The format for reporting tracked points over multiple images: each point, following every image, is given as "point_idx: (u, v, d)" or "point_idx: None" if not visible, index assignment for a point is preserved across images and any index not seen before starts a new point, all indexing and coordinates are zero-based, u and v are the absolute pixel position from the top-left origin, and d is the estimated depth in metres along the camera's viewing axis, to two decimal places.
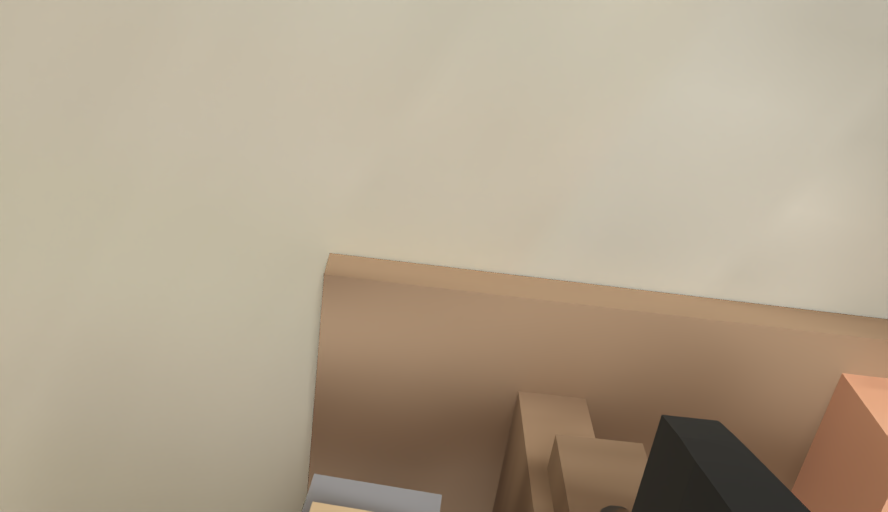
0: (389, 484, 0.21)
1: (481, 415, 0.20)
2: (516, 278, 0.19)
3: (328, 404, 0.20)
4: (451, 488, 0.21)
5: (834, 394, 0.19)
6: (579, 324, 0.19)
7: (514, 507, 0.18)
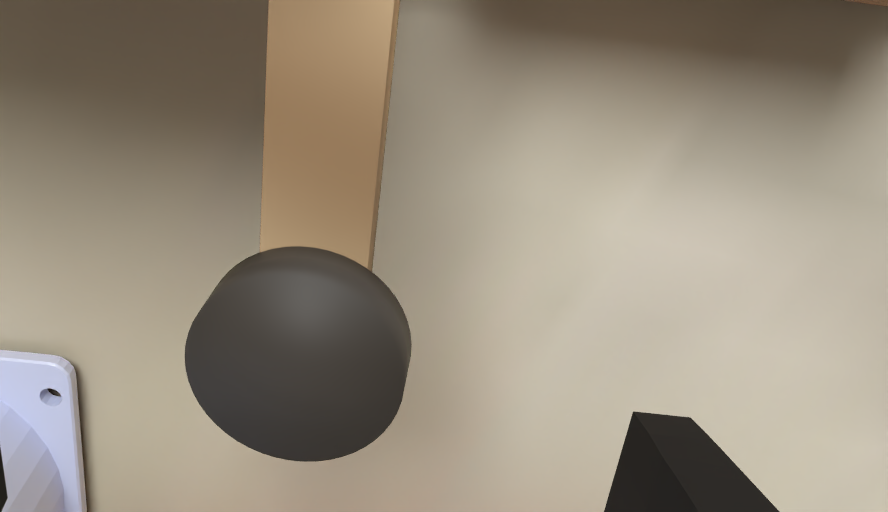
0: None
1: None
2: None
3: None
4: None
5: None
6: None
7: None
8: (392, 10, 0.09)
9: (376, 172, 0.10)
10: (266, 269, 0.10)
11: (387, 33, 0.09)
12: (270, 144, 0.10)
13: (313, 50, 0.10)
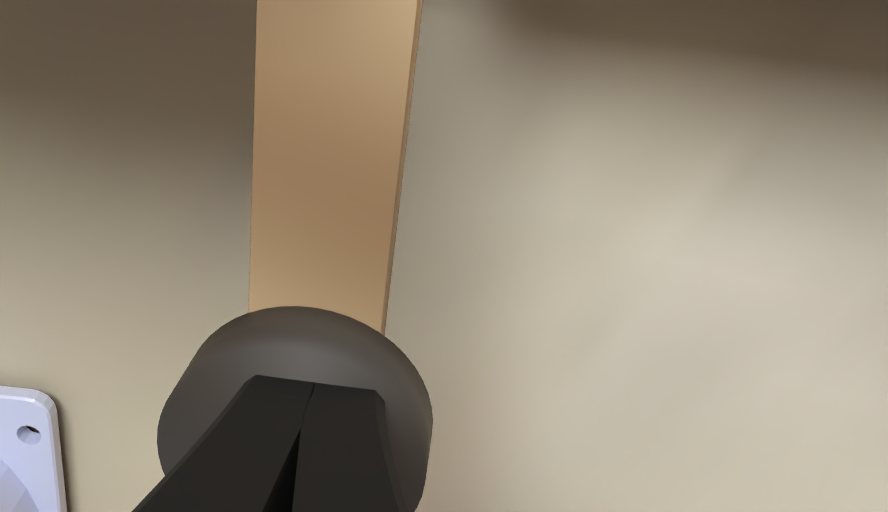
0: None
1: None
2: None
3: None
4: None
5: None
6: None
7: None
8: (413, 20, 0.07)
9: (392, 219, 0.08)
10: (256, 339, 0.08)
11: (406, 48, 0.07)
12: (260, 185, 0.08)
13: (313, 70, 0.08)
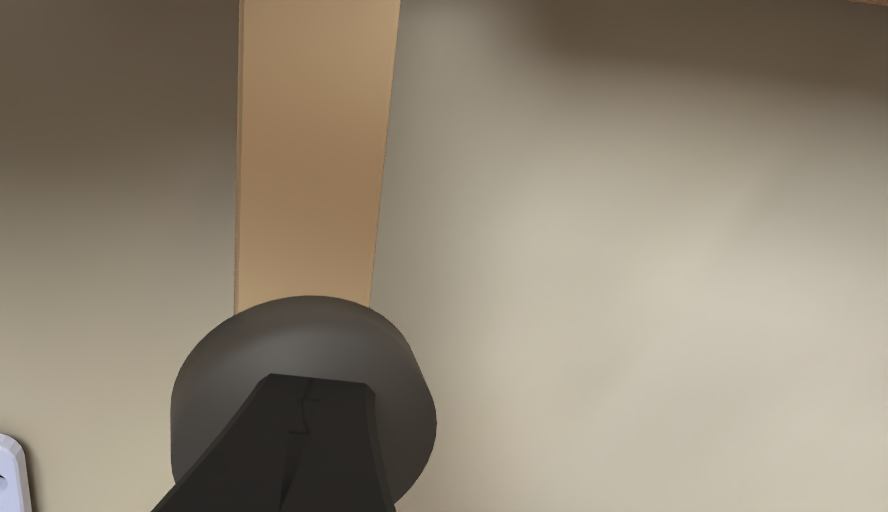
0: None
1: None
2: None
3: None
4: None
5: None
6: None
7: None
8: (398, 7, 0.08)
9: (379, 198, 0.09)
10: (268, 335, 0.08)
11: (392, 35, 0.08)
12: (250, 183, 0.08)
13: (303, 63, 0.08)
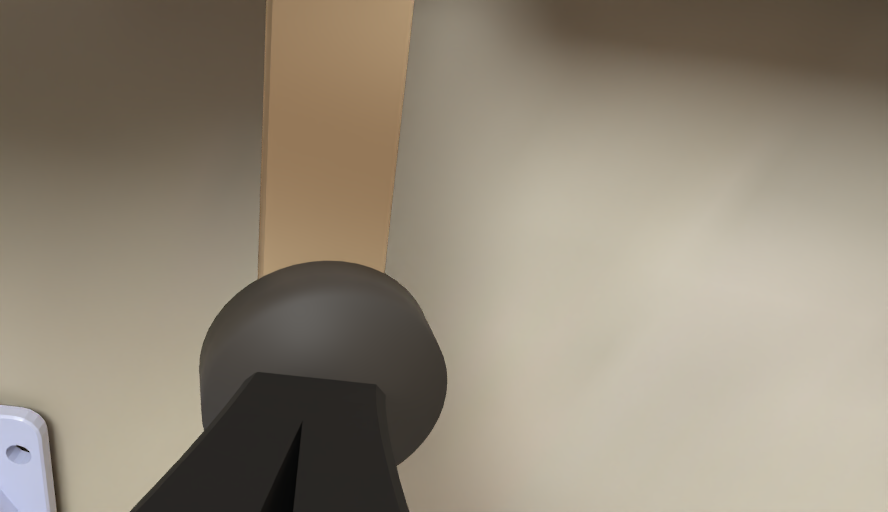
0: None
1: None
2: None
3: None
4: None
5: None
6: None
7: None
8: None
9: (394, 169, 0.09)
10: (292, 295, 0.09)
11: (408, 16, 0.08)
12: (276, 153, 0.09)
13: (326, 42, 0.08)
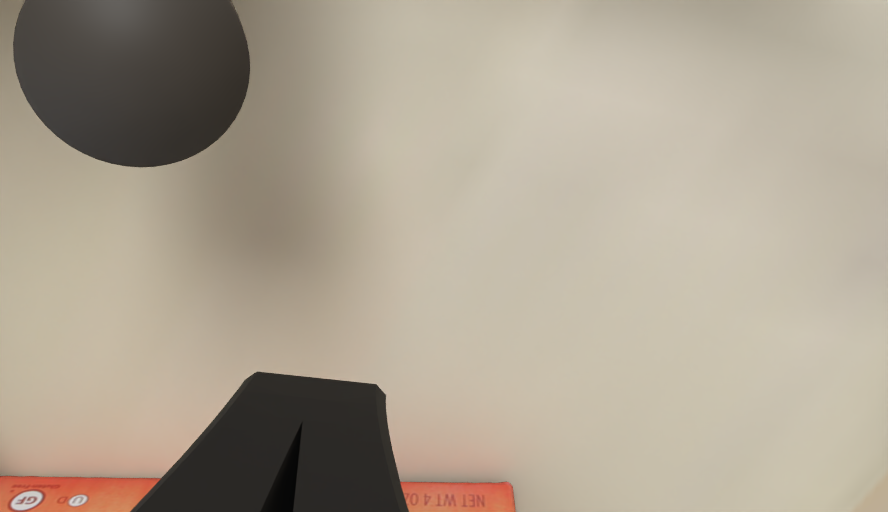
0: None
1: None
2: None
3: None
4: None
5: None
6: None
7: None
8: None
9: None
10: None
11: None
12: None
13: None
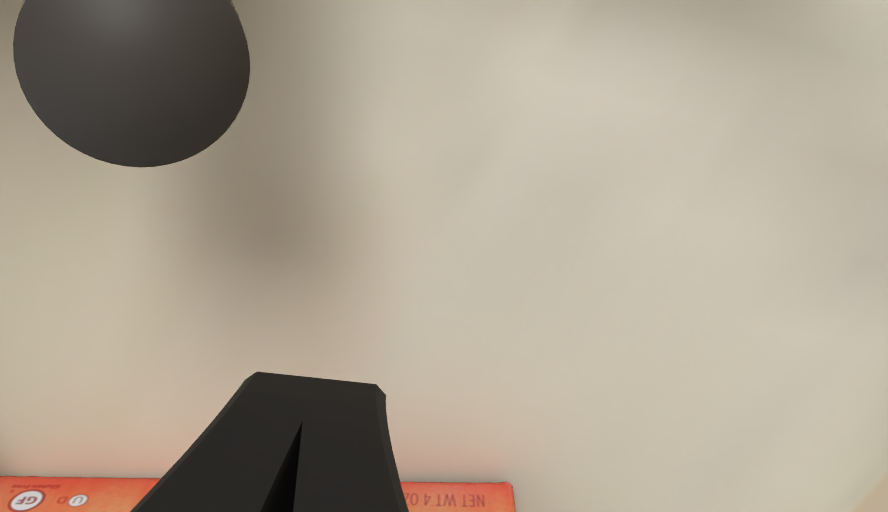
0: None
1: None
2: None
3: None
4: None
5: None
6: None
7: None
8: None
9: None
10: None
11: None
12: None
13: None
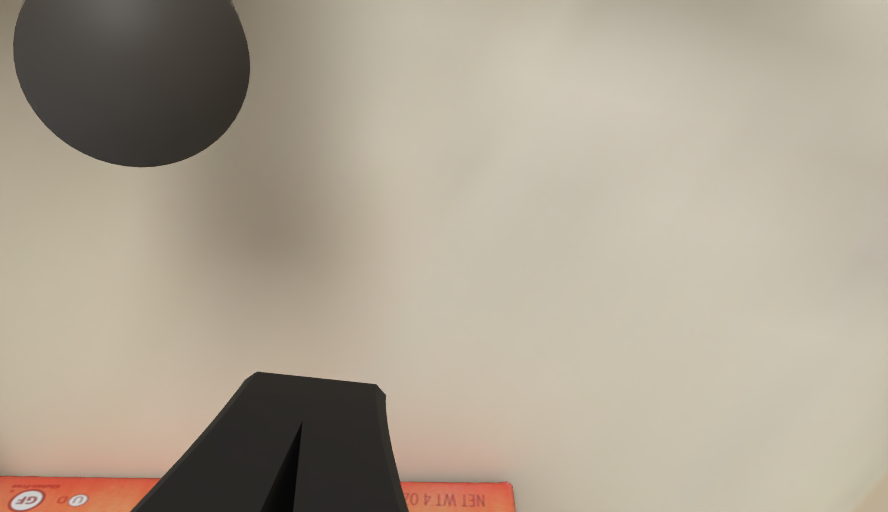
0: None
1: None
2: None
3: None
4: None
5: None
6: None
7: None
8: None
9: None
10: None
11: None
12: None
13: None
